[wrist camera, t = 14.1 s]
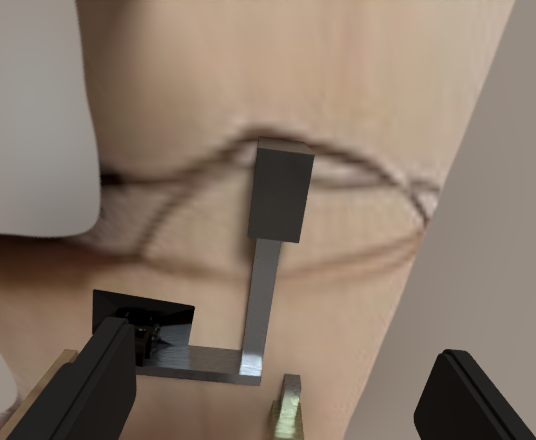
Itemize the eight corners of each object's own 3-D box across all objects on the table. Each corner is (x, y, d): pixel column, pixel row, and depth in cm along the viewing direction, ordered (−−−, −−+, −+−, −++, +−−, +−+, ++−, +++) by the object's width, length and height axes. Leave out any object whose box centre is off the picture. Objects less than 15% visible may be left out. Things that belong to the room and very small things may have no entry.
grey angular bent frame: (100, 115, 24) (50, 120, 19) (303, 142, 25) (314, 154, 20) (113, 347, 32) (81, 399, 27) (267, 362, 33) (267, 416, 28)
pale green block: (278, 373, 34) (279, 407, 30) (306, 375, 34) (311, 410, 30) (268, 425, 37) (269, 463, 33) (294, 427, 37) (297, 465, 33)
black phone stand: (210, 299, 31) (201, 332, 27) (199, 355, 34) (189, 394, 29) (79, 275, 30) (48, 306, 26) (78, 336, 33) (50, 373, 28)
